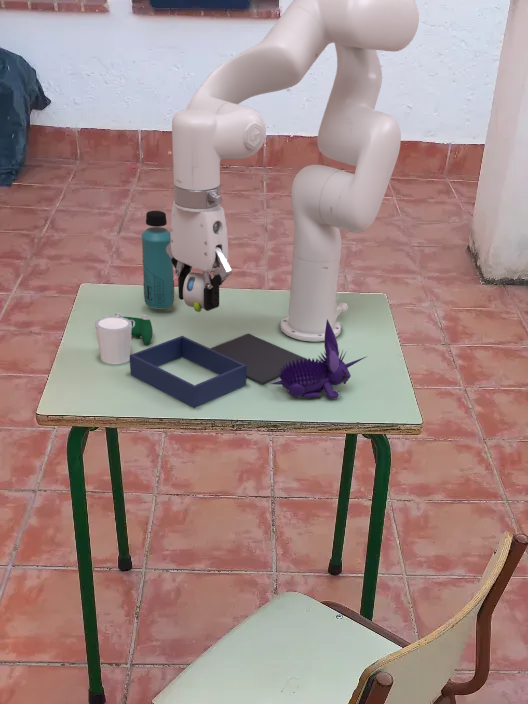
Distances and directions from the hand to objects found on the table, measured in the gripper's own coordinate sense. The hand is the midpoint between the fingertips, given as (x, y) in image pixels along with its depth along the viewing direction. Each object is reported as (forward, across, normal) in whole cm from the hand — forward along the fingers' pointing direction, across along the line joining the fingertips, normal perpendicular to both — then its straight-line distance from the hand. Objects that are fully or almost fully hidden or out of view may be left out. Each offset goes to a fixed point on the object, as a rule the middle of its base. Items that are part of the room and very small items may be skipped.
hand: (198, 301), depth 158 cm
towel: (+15, -2, -13) cm, 20 cm away
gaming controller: (+15, +21, -1) cm, 26 cm away
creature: (+15, -19, -12) cm, 27 cm away
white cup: (+14, +16, +7) cm, 23 cm away
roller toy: (+1, 0, 0) cm, 1 cm away
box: (+14, 0, +3) cm, 15 cm away
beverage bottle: (+15, +28, -15) cm, 35 cm away
